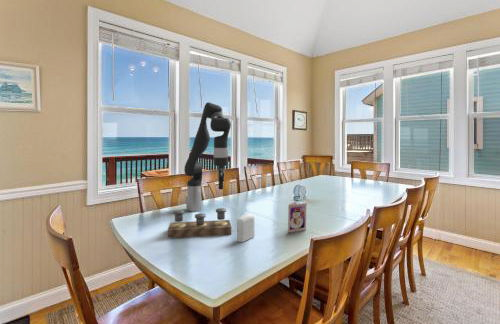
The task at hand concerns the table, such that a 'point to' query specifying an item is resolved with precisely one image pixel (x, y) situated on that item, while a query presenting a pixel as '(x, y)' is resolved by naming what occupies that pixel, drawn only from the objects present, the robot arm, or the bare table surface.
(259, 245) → the table surface
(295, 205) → the greeting card
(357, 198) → the table surface
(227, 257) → the table surface
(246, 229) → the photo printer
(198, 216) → the middle knob
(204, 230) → the mount board
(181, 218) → the left knob
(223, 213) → the right knob
